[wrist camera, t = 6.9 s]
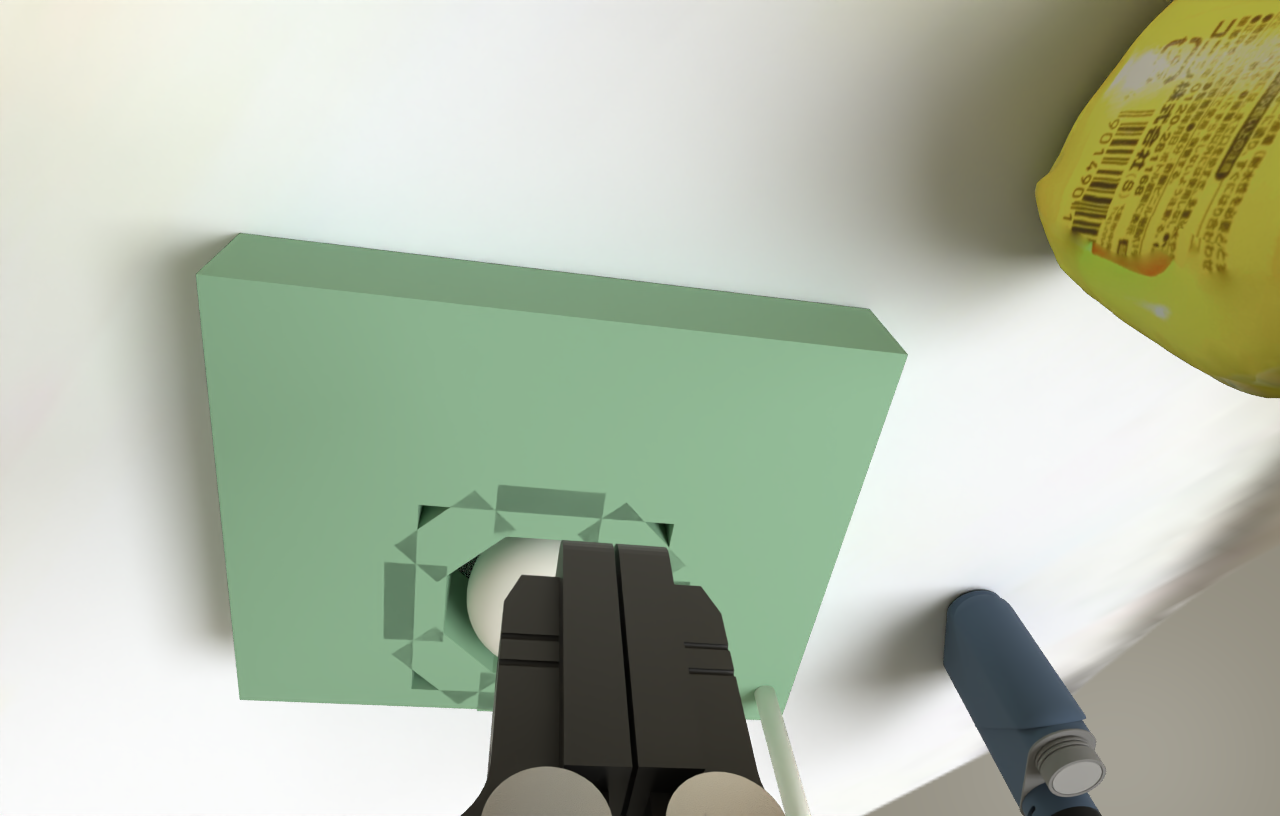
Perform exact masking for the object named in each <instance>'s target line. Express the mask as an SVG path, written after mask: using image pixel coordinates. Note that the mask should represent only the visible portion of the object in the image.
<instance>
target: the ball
mask: <svg viewBox="0 0 1280 816" xmlns="http://www.w3.org/2000/svg"><path fill="white" fill-rule="evenodd" d="M560 543H561V540H549V539H535V538H521V537H507V536H506V537H505V538H503V539H502V540H500V541H499V542H497V543H496V544H494V545H493V546H491V547H490V548H488V549H487V550H485V551H484V552H482V553H481V555H480V556H479V558H478V559H477V561H476V563H475V565H474V567H473V569H472V571H471V574H470V577H469V580H468V586H467V611H468V615H469V619H470V622H471V624H472V627H473V629H474V631H475V633H476V635H477V636H478V638H479V639H480V641H481V642H482V643H483V644H484V646H485V647H486V648H487V649H488V650H490V651H491V652H492V653H493V654H494V655H496V656H497V657H498V651H499V642H500V633H501V623H502V614H503V605H504V600H505V599H506V597H507V596H508V594H509V593H510V591H511V590H512V588H513V587H514V585H515V584H516V582H517V581H518V579H519V578H520V576H521V575H535V576H550V577H555V575H556V568H557V562H558V555H559V548H560Z"/></svg>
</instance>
